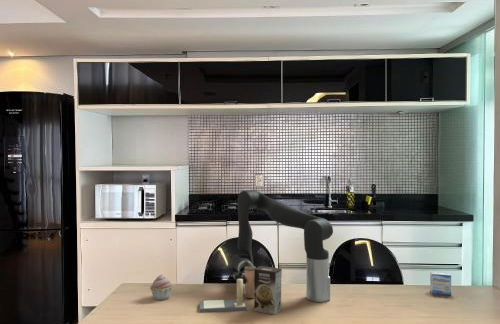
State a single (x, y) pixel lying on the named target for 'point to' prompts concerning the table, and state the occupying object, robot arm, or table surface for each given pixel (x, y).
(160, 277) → the cupcake
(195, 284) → the table surface
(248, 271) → the spice jar
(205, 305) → the grey stand with post
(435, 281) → the medicine box
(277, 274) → the coffee box
